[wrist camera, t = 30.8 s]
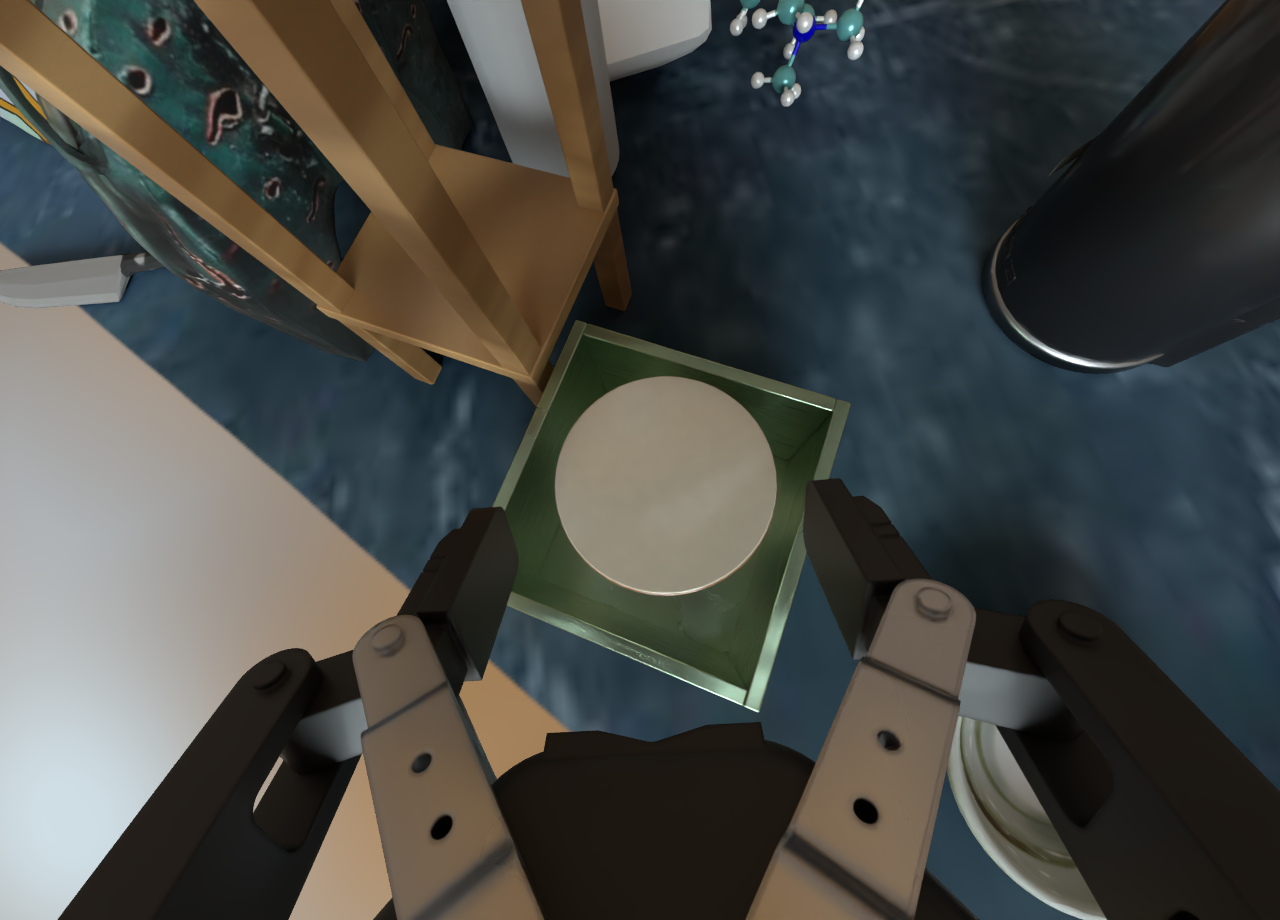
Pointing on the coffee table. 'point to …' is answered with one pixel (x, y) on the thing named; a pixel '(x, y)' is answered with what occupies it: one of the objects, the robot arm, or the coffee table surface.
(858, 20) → the molecule model
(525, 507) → the open box
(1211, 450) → the coffee table surface
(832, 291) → the coffee table surface
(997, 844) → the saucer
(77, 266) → the chef's knife
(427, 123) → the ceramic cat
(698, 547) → the tumbler
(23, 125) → the decorative fish
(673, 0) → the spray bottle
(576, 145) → the wooden stand
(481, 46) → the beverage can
